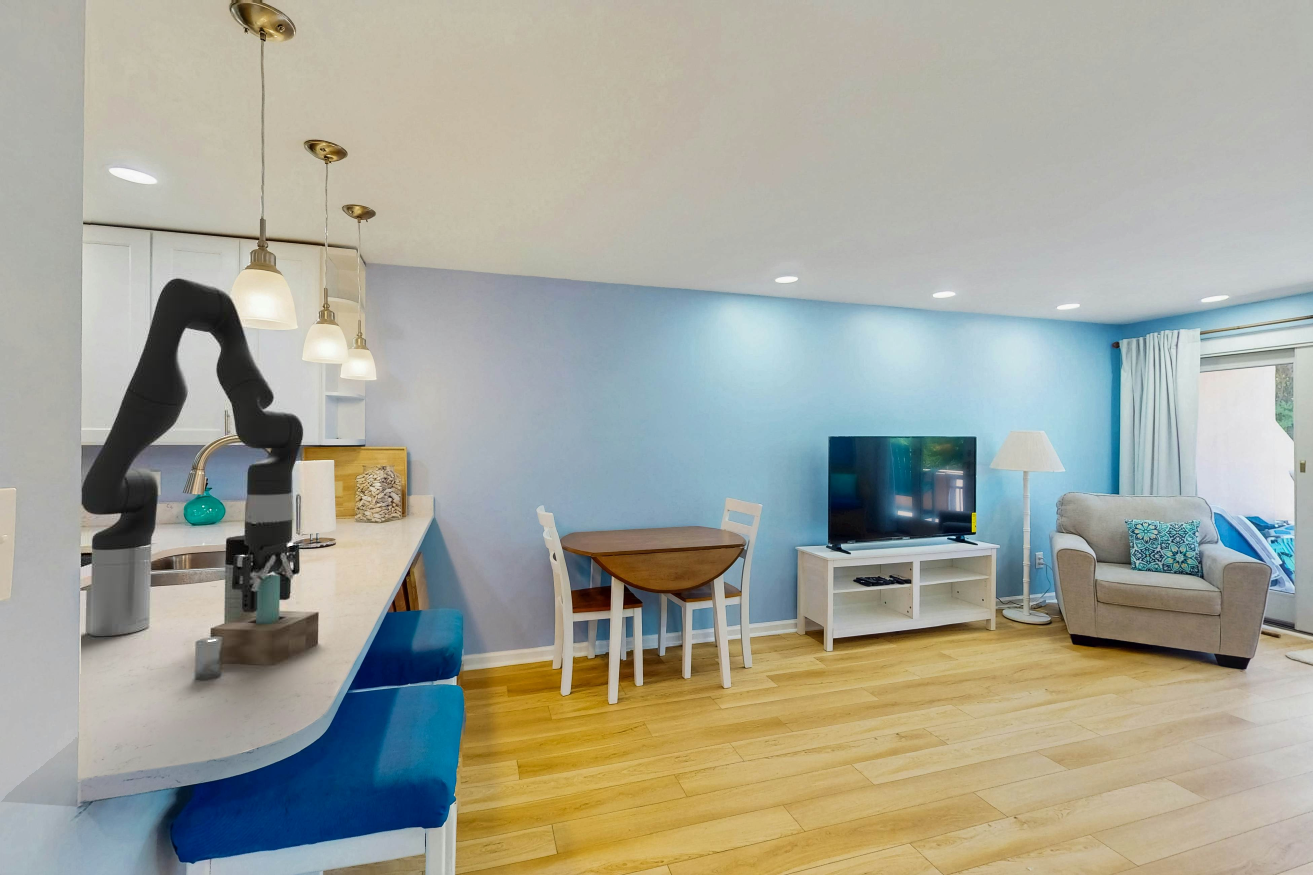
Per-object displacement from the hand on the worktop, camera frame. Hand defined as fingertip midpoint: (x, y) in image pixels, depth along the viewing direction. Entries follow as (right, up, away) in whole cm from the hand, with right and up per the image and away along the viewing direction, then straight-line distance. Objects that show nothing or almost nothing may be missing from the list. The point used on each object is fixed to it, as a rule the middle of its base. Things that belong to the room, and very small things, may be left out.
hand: (267, 605), depth 113 cm
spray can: (-10, -9, +9) cm, 16 cm away
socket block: (0, -9, 0) cm, 9 cm away
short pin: (-2, -9, -12) cm, 15 cm away
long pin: (0, -9, 0) cm, 9 cm away
